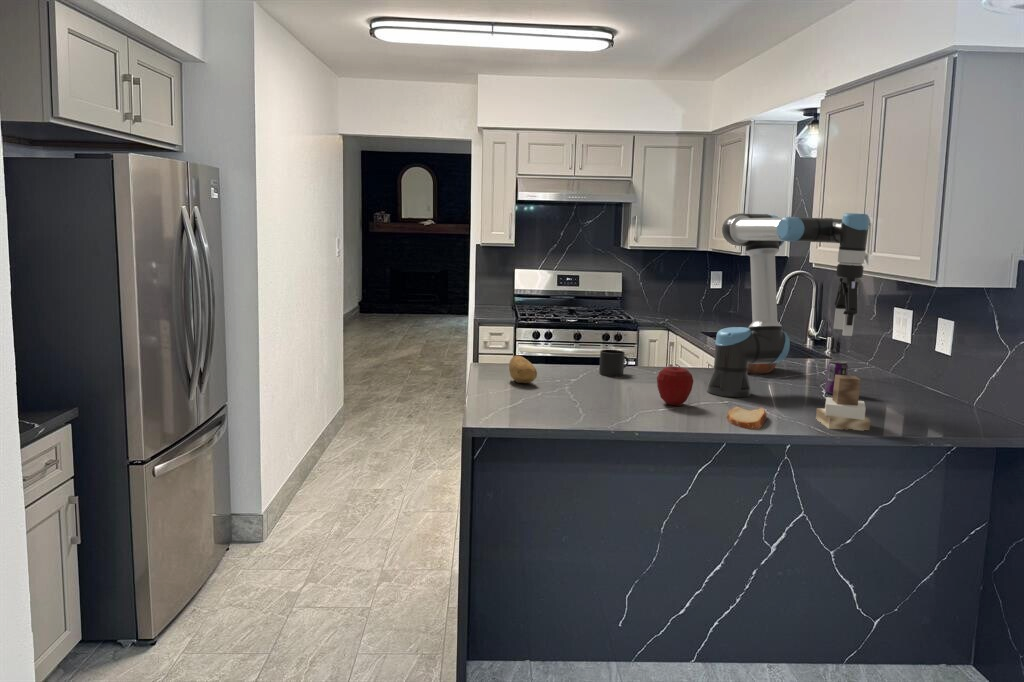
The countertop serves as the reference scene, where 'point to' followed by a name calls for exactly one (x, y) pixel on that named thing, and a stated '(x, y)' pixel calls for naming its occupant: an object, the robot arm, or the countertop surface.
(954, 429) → the countertop surface
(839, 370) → the beverage can
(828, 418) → the tower base
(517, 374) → the potato
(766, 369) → the bowl
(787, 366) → the countertop surface
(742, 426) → the slice of bread
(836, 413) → the tower top
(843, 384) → the walnut block
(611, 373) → the mug
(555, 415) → the countertop surface
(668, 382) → the apple
